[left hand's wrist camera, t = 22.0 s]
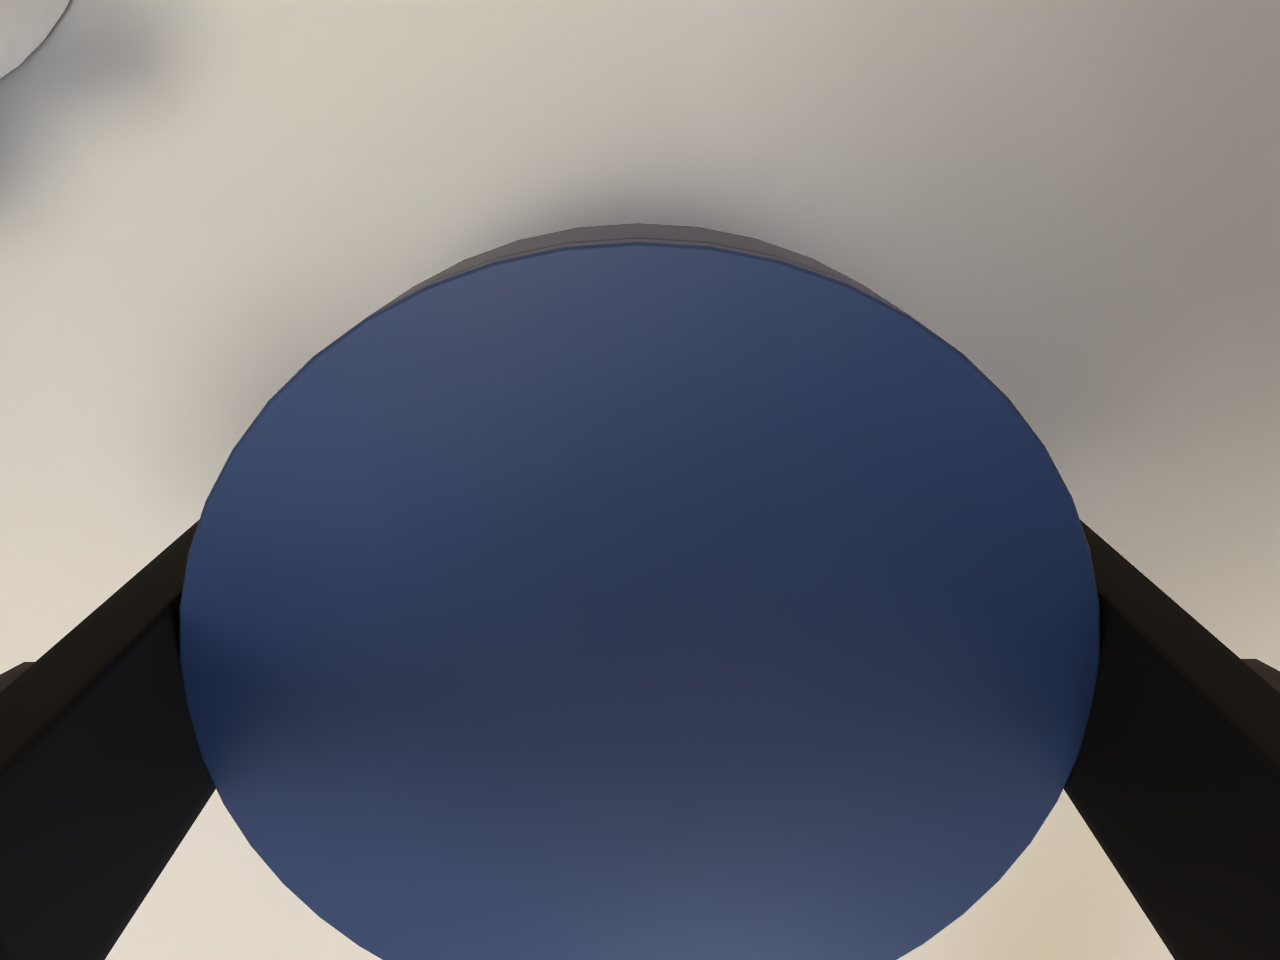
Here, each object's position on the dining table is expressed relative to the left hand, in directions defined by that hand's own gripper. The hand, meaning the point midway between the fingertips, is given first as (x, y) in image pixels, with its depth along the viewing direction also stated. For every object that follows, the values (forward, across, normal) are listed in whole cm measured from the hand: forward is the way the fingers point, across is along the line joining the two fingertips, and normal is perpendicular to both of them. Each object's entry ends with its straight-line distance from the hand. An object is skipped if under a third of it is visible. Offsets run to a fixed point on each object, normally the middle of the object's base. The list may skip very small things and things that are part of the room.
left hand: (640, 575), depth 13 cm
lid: (-3, 0, 0) cm, 3 cm away
